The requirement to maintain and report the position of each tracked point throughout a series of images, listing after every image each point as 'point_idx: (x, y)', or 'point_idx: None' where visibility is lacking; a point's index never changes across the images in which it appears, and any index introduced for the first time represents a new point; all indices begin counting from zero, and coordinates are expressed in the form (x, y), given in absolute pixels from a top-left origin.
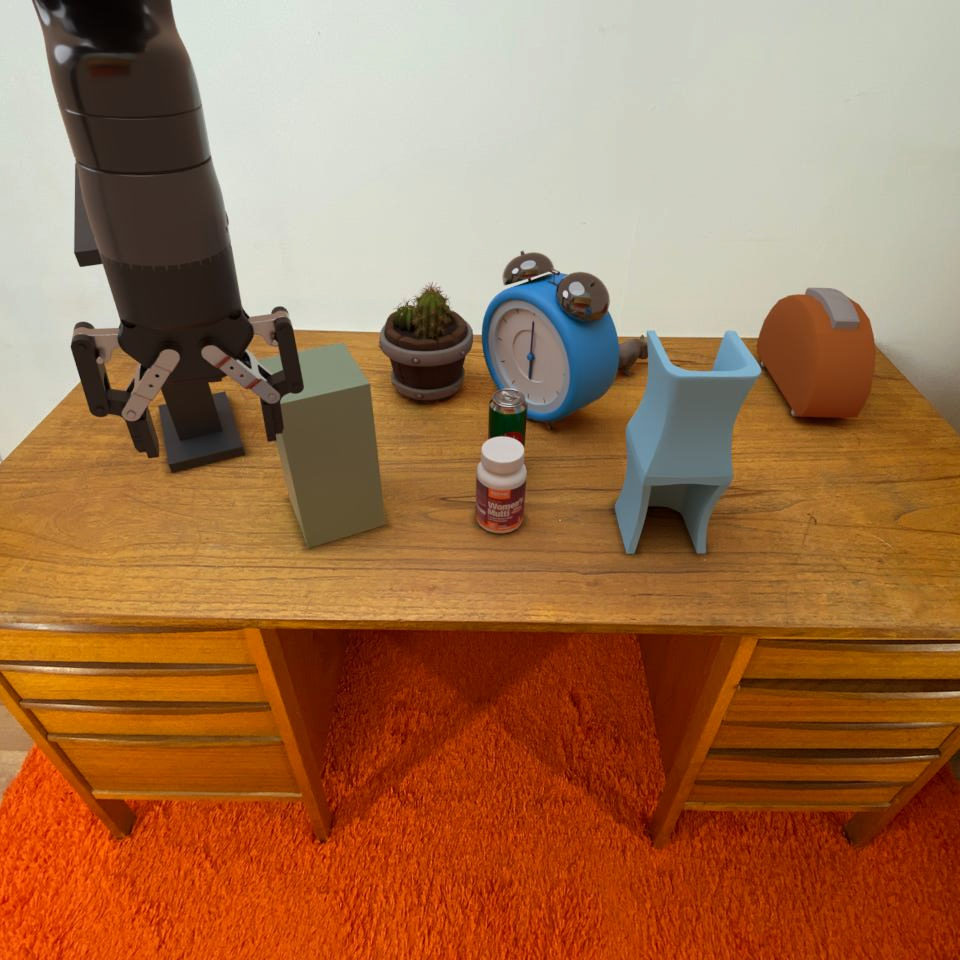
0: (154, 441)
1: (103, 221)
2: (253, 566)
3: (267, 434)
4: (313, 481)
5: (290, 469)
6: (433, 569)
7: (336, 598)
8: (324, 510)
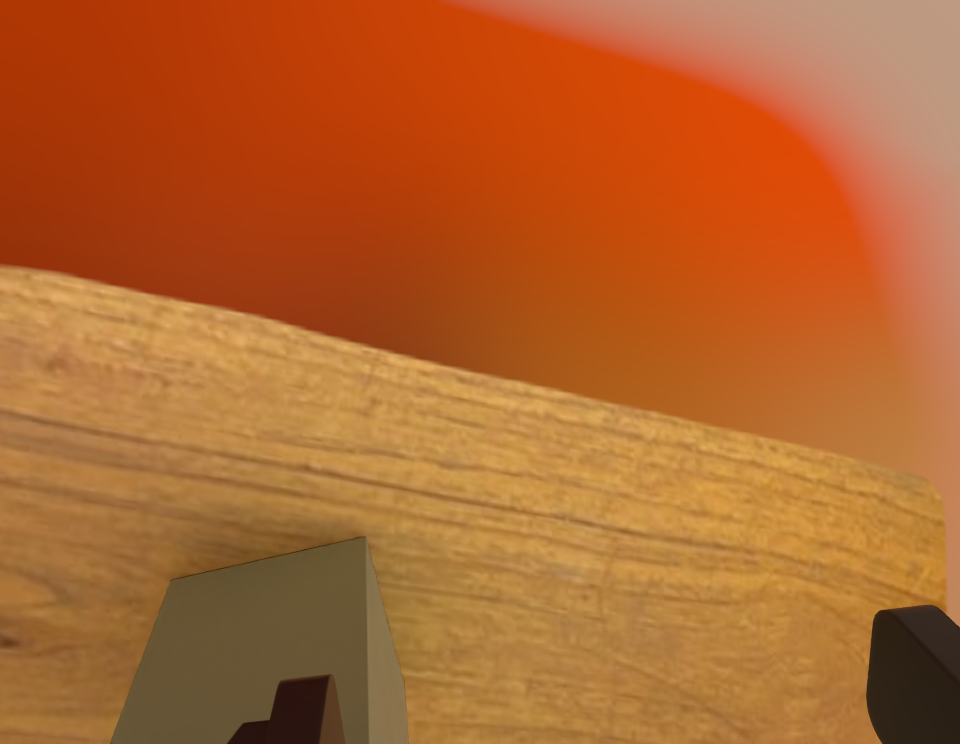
0: (930, 689)
1: None
2: (490, 506)
3: (317, 708)
4: None
5: (367, 719)
6: (49, 422)
7: (303, 381)
8: (305, 613)
